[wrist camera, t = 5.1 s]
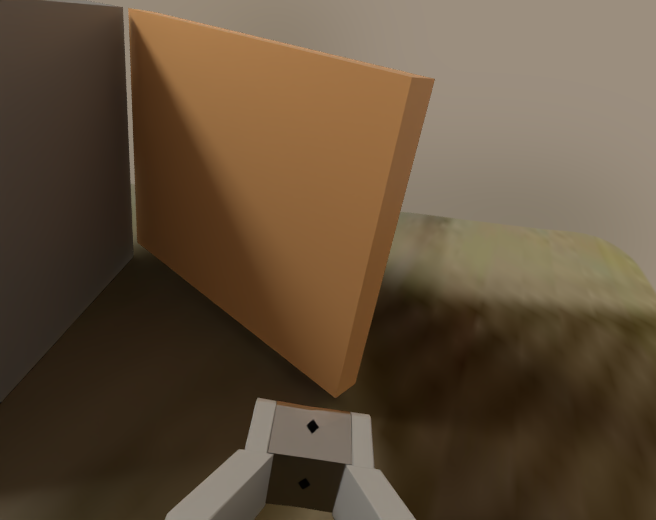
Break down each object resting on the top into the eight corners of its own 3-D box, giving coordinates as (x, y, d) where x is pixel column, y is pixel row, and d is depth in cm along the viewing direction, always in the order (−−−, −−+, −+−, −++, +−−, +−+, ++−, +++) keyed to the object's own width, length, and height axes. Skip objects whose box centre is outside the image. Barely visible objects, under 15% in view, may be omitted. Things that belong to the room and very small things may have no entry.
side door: (335, 398, 21) (412, 77, 14) (137, 242, 30) (128, 8, 24) (369, 373, 22) (451, 80, 16) (173, 233, 32) (174, 15, 25)
